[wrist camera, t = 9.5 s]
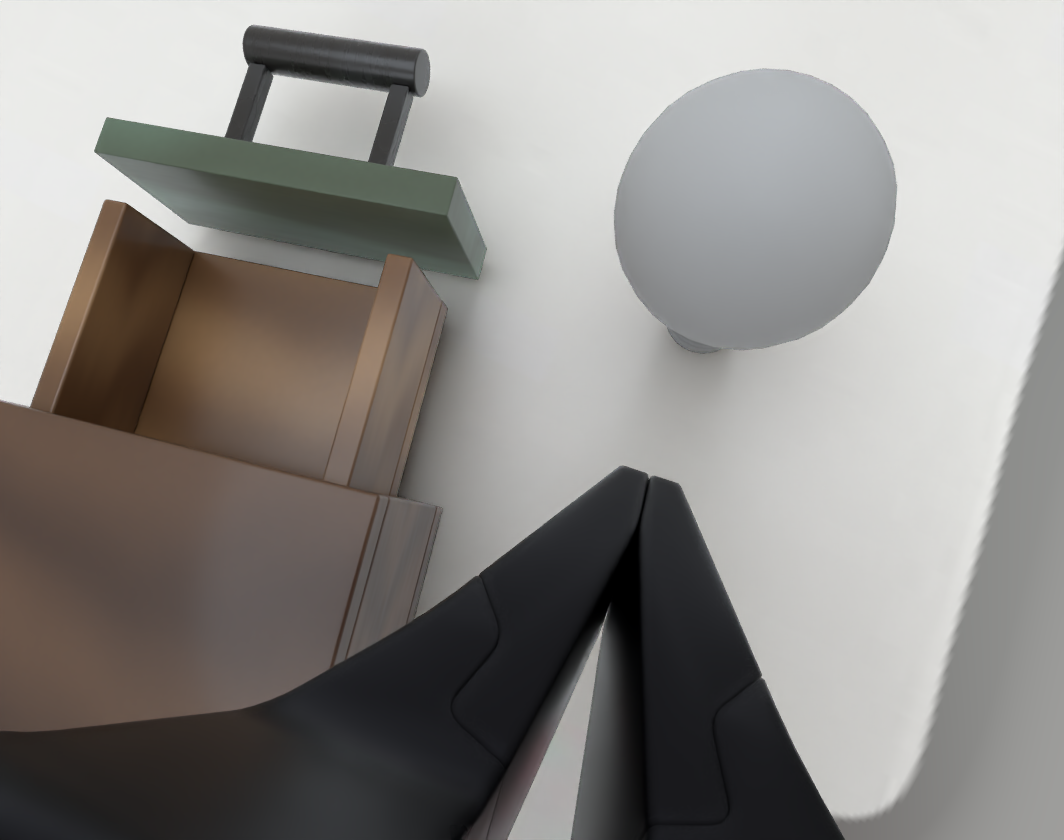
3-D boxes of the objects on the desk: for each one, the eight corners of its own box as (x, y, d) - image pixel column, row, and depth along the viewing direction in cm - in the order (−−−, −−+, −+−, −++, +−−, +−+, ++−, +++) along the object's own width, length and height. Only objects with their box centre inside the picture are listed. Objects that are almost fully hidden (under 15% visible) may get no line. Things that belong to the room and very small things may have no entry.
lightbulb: (771, 227, 24) (908, -33, 13) (809, 395, 23) (994, 263, 12) (598, 259, 24) (592, 33, 13) (627, 424, 23) (646, 322, 12)
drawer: (237, 79, 26) (156, -22, 21) (520, 124, 24) (499, 25, 20) (69, 577, 23) (-67, 586, 19) (376, 665, 22) (312, 700, 17)
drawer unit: (122, 428, 25) (-46, 389, 19) (443, 507, 23) (379, 494, 17) (-28, 872, 23) (-279, 1003, 16) (314, 999, 21) (185, 1203, 14)
